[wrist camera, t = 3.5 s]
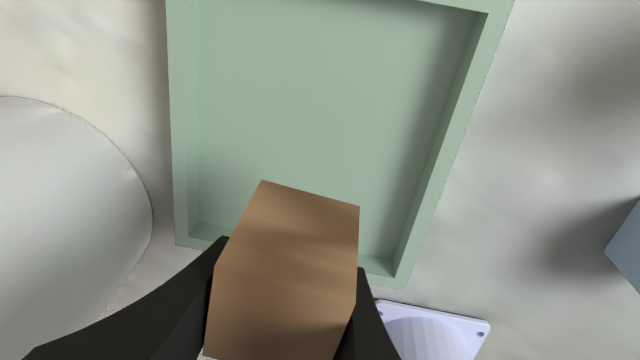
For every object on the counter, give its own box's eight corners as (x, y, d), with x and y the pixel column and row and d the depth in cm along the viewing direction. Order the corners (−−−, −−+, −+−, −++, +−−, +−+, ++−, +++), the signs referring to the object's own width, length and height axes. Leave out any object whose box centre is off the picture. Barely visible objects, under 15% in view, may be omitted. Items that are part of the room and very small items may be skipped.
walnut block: (360, 206, 15) (355, 304, 10) (333, 278, 16) (320, 386, 12) (261, 179, 14) (214, 265, 10) (246, 255, 16) (202, 355, 12)
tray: (401, 265, 24) (404, 291, 22) (190, 223, 24) (175, 244, 22) (499, -8, 16) (517, -6, 14) (186, -66, 16) (162, -72, 14)
